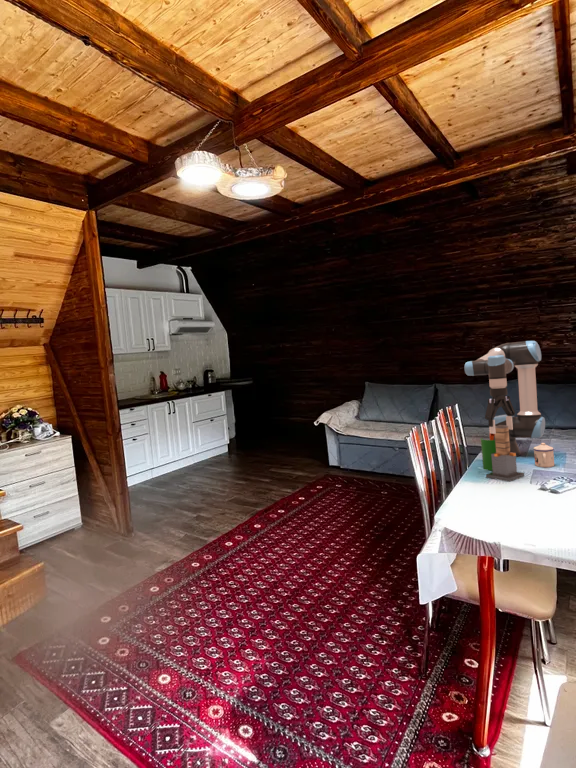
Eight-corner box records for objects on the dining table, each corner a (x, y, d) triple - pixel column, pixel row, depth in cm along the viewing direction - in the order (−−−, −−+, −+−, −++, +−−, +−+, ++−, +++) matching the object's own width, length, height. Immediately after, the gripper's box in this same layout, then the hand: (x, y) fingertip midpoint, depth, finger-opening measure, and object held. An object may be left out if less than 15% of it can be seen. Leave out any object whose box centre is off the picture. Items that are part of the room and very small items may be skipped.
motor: (501, 466, 231) (498, 428, 230) (507, 470, 222) (504, 431, 221) (481, 467, 232) (478, 430, 231) (487, 471, 223) (484, 432, 222)
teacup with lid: (534, 463, 230) (532, 441, 230) (554, 463, 226) (552, 441, 226) (534, 468, 220) (533, 445, 219) (555, 469, 215) (554, 445, 215)
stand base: (501, 472, 219) (499, 448, 219) (524, 476, 209) (522, 451, 208) (486, 477, 213) (484, 452, 212) (509, 481, 203) (507, 455, 202)
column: (503, 471, 214) (499, 425, 213) (512, 472, 210) (508, 425, 209) (497, 472, 212) (493, 426, 211) (506, 474, 208) (502, 427, 207)
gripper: (506, 385, 219) (509, 427, 219) (474, 390, 206) (478, 434, 207) (521, 385, 212) (524, 428, 213) (489, 389, 200) (492, 435, 200)
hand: (501, 431), depth 210 cm, fingers open, 13 cm apart
